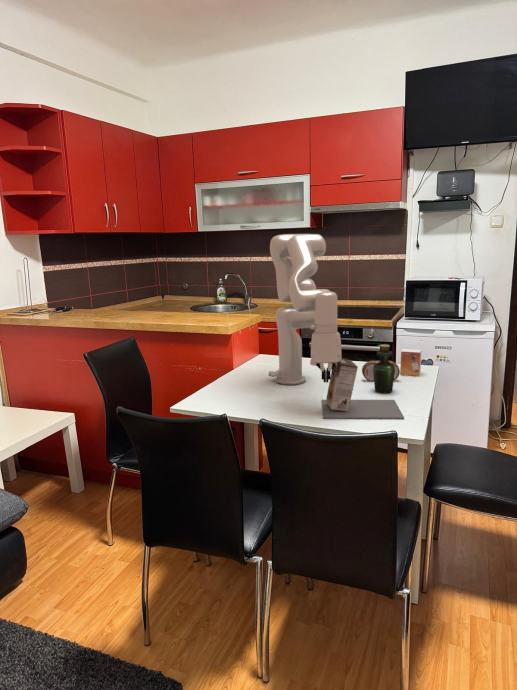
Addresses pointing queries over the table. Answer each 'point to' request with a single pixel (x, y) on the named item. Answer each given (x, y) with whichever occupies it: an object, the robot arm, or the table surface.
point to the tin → (369, 372)
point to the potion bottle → (384, 371)
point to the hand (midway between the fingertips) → (325, 381)
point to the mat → (364, 410)
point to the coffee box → (341, 385)
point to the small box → (410, 362)
